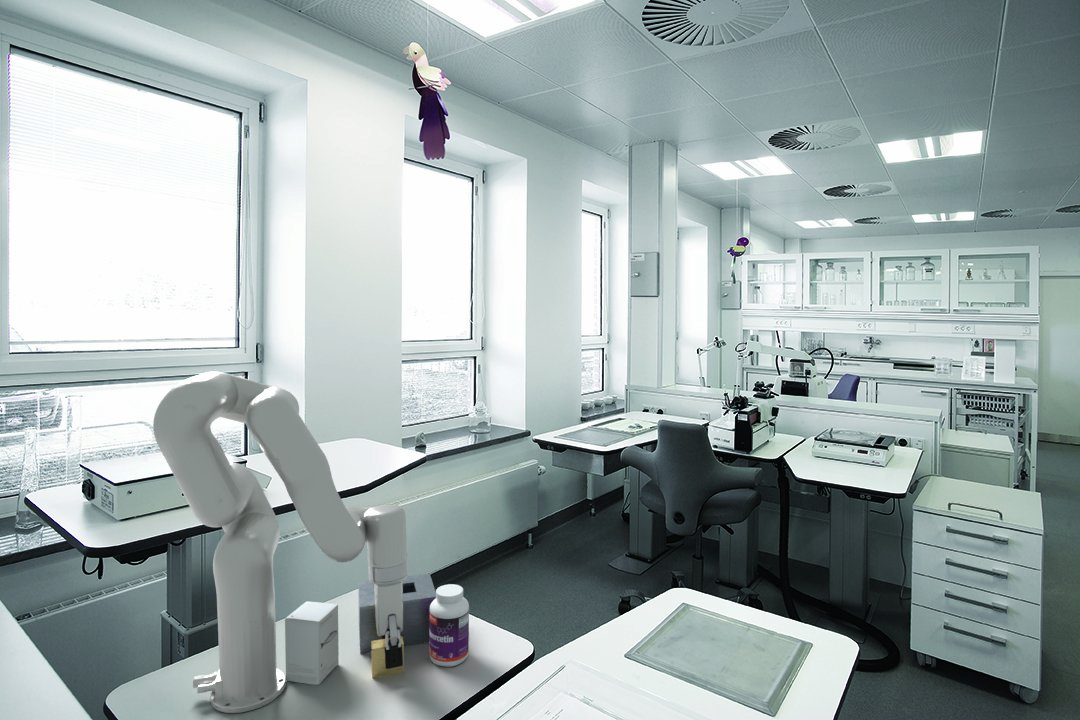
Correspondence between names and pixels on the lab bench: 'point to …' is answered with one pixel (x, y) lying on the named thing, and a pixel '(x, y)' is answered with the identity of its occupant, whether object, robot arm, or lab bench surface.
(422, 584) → the grey slotted box
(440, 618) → the pill bottle
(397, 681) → the lab bench surface
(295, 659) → the supplement box
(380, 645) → the yellow wooden block
